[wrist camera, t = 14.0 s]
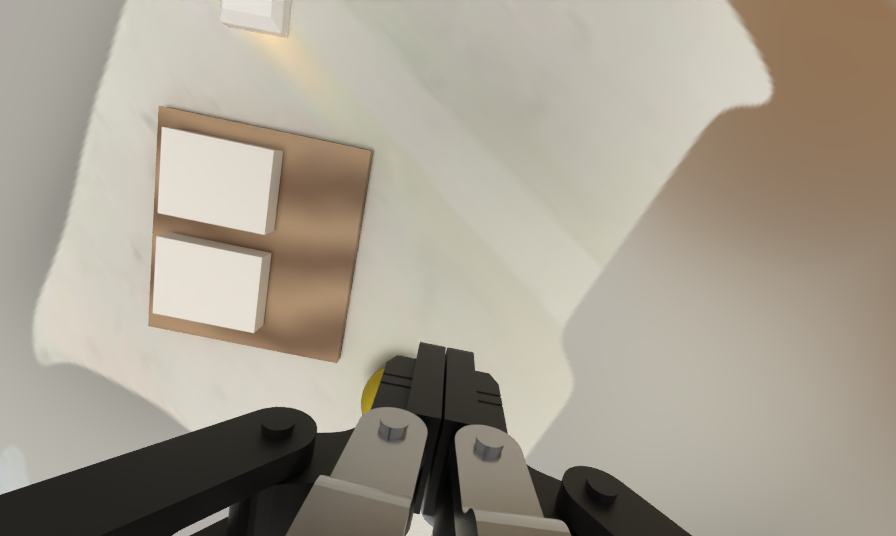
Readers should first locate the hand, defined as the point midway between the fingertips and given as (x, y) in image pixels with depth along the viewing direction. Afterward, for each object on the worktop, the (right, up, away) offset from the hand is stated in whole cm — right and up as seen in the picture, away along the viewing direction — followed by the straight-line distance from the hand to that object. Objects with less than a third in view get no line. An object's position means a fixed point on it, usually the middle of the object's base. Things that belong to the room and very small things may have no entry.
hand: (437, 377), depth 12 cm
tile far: (-16, +1, +27) cm, 32 cm away
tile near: (-14, +9, +25) cm, 31 cm away
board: (-17, +6, +29) cm, 34 cm away
